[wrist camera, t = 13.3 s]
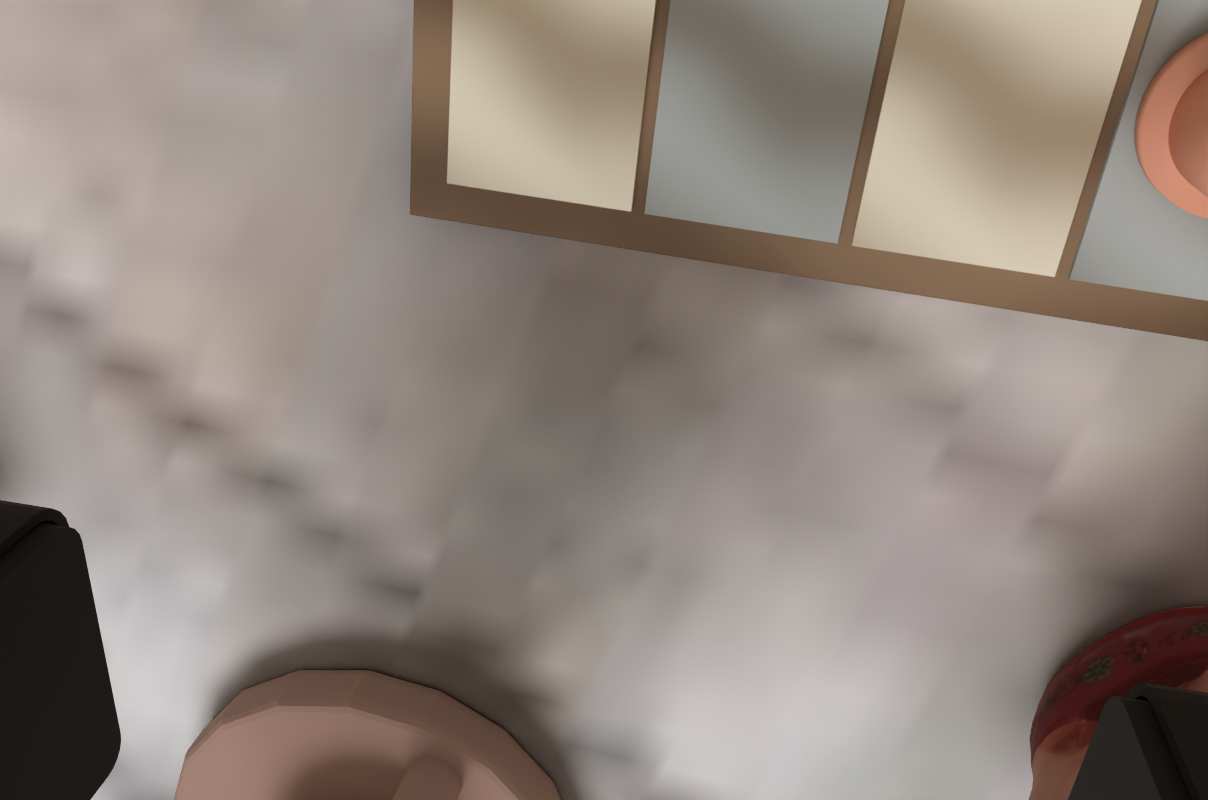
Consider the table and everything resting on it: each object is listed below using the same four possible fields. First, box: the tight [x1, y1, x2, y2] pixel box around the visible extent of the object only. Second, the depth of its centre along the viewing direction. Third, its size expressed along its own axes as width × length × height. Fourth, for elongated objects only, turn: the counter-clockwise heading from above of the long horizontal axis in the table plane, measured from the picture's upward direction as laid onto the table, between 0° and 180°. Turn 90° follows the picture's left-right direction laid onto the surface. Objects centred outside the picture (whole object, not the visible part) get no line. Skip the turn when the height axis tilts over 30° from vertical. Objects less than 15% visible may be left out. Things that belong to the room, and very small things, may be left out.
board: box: [410, 0, 1208, 341], centre depth 28 cm, size 12×26×1 cm, turn 84°
